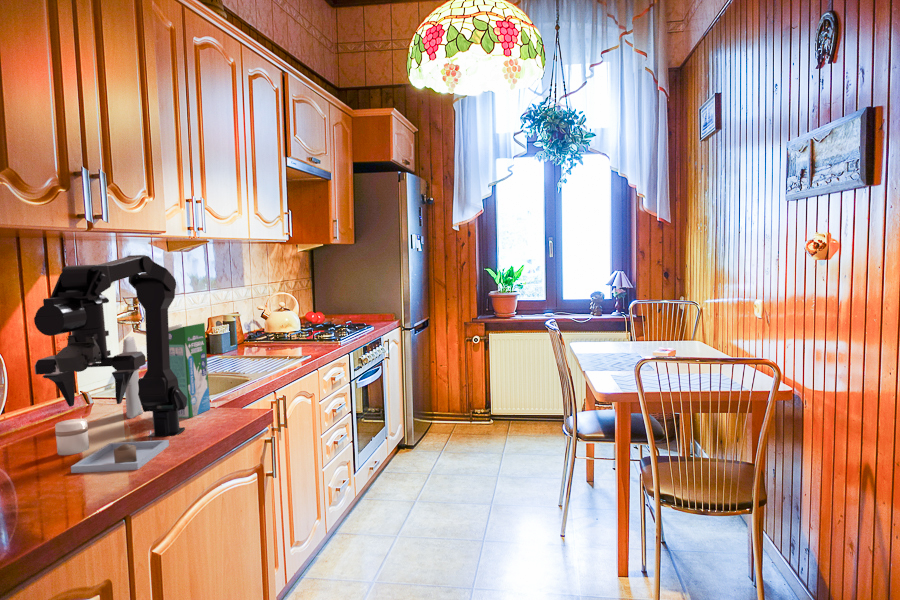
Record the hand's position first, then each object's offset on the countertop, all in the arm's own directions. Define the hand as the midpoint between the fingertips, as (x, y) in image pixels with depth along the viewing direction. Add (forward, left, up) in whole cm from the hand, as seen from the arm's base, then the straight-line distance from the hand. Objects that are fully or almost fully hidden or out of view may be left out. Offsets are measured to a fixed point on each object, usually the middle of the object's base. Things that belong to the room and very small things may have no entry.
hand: (95, 404), depth 117 cm
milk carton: (-45, 0, -14) cm, 47 cm away
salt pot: (-2, +4, -13) cm, 14 cm away
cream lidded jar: (-14, -13, -14) cm, 24 cm away
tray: (-6, +1, -14) cm, 15 cm away
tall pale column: (-47, -15, -14) cm, 51 cm away
